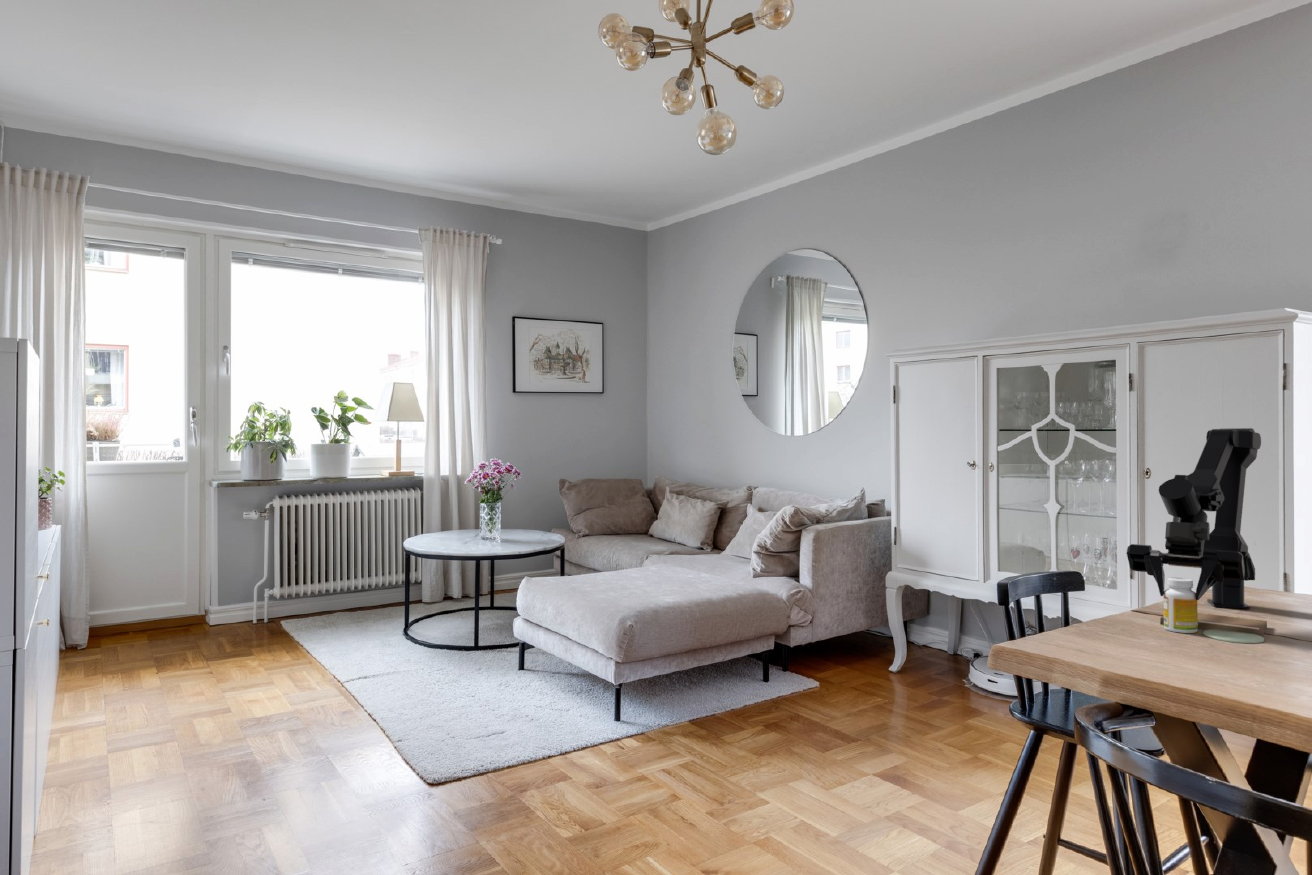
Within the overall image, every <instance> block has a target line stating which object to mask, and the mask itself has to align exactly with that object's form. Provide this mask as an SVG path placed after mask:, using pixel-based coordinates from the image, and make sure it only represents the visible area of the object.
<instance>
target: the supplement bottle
mask: <svg viewBox="0 0 1312 875" xmlns="http://www.w3.org/2000/svg"><path fill="white" fill-rule="evenodd" d="M1167 586H1168V588H1167V589H1164V595H1163V615H1164V624H1163V628H1164V629H1165V630H1167V631H1170V632H1173V633H1174V632H1175V633H1181V634H1195V633H1197V632H1198V630H1199V629H1198V618H1197V613H1198V600H1196V591H1194V590H1192V589H1193V587H1194V580H1193V579H1190V578H1183V577H1169V578H1167Z"/></svg>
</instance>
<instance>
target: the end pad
mask: <svg viewBox="0 0 1312 875" xmlns="http://www.w3.org/2000/svg"><path fill="white" fill-rule="evenodd" d="M1203 635H1204V636H1205V637H1207V638H1209V639H1213V640H1217V641H1221V642H1229V643H1235V644H1237V643H1238V644H1260V643H1263V642H1265V638H1264V637H1263V636H1259V635H1256V634H1252V633H1244V632H1236V631H1228V630H1220V629H1210V630H1203Z"/></svg>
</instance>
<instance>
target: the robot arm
mask: <svg viewBox="0 0 1312 875" xmlns="http://www.w3.org/2000/svg"><path fill="white" fill-rule="evenodd" d="M1261 437H1262V436H1261V434H1260V433H1259V432H1255V429H1254V428H1252V427H1248V428H1245V427H1244V428H1241V427H1239V428H1238V427H1237V428H1233V427H1231V428H1212V429H1209V430H1208V431H1207V432H1206V442H1205V444H1204V447H1203V449H1202V451H1201V454H1200V456H1199V459H1198V461H1197V464H1196V466H1195V468H1194V470H1193V472H1191V473H1190V474H1188V475H1186V474H1174V477H1173V478H1170V479H1168V480H1166V481H1164V482H1163V483H1161V484H1160V485H1159V486H1158V494H1159V495H1160V498H1161V500H1162V503H1163V504H1164V507H1165V509H1166V511H1167V514H1168V515H1170V516H1172V521H1167V522H1166V523H1165V524H1166V525H1165V533H1164V534H1165V537H1164V538H1165V550H1167V552H1161V551H1160V550H1157V549H1153V547H1152V545H1149V544H1137V543H1131V544H1130V545H1127V549H1126V556H1127V560H1128V566H1129V568H1130V570H1131V571H1133V572H1142V573H1146V574H1147V575H1148V576H1153V578H1154V581H1155V582H1156V584H1157V588H1158V592H1159V595H1160V597H1164V591H1165V584H1166V583H1165V577H1166V576H1165V570H1164V565H1168V566H1169V567H1170V566H1171V567H1172V566H1174V567H1183V568H1184V567H1185V568H1195V569H1197V568H1198V569H1201V570H1200V575H1199V578H1198V582H1197V586H1196V589H1195V593H1196V600H1197V601H1200V599H1201V598H1202V597H1203V596H1204V595H1205V593H1206V592H1207V591H1208V590H1209V589H1210V588H1211V595H1212V596H1211V597H1212V598H1208V599H1206V602H1207V603H1209V605H1212V606H1213V607H1216V608H1229V609H1230V608H1232V609H1249V610H1250V609H1251V606H1250V605H1248V604H1247V603H1245V582H1247V581H1255V580H1256V567H1255V565H1254V563H1253V560H1252V558H1251V555H1250V553H1249V546H1248V544H1247V542H1246V541H1245V539H1244V537H1243V536H1242V535H1241V530H1242V529H1241V528H1242V518H1243V505H1244V496H1245V487H1246V486H1245V485H1246V477H1247V476H1246V475H1247V469H1248V468H1249V467H1250V466H1251V465H1252V464H1253V463H1254V461H1256V459H1257V457H1258V450H1259V449H1261V445H1262V438H1261ZM1207 512H1215V520H1214V528H1213V530H1211V532H1210V527H1211V526H1210V523H1209V521H1208V514H1207Z"/></svg>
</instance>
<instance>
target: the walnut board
mask: <svg viewBox="0 0 1312 875" xmlns="http://www.w3.org/2000/svg"><path fill="white" fill-rule="evenodd" d="M1197 618H1198V630H1202V631H1205V630H1210V629H1220V630H1228V631H1236V632H1244V633H1252V634H1256V635H1259V636H1262V637H1263V636H1264V634H1265V633H1266V630H1267V629H1268V621H1267V620H1261V619H1260V620H1259V619H1251V618H1246V617H1245V618H1243V617H1234V616H1228V615H1218V614H1211V613H1210V614H1209V613H1208V614H1207V613H1200V612H1197ZM1159 620H1160V625H1164V614H1163V615H1162V616H1161V617H1160V618H1159Z"/></svg>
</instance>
